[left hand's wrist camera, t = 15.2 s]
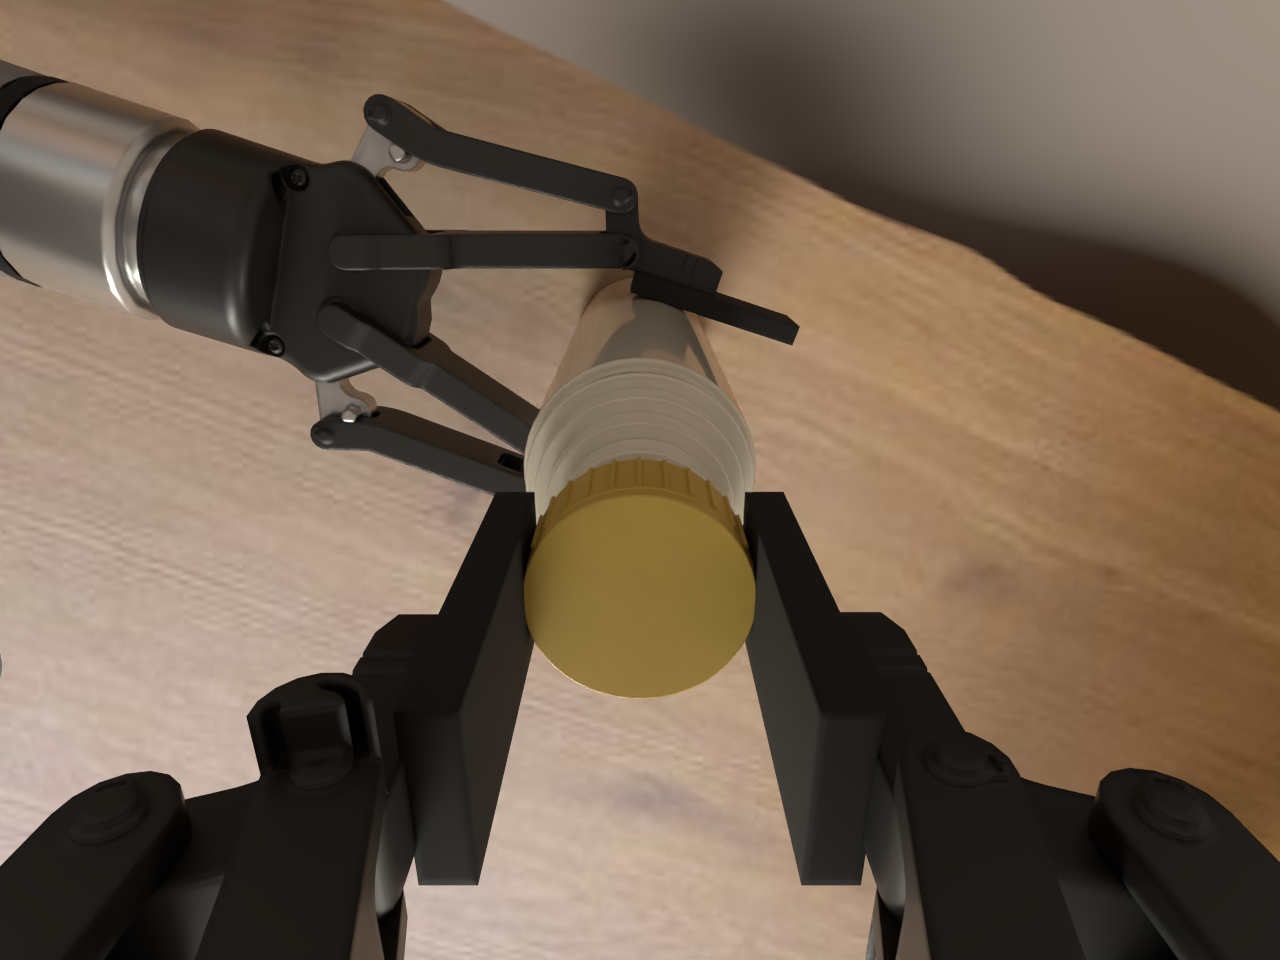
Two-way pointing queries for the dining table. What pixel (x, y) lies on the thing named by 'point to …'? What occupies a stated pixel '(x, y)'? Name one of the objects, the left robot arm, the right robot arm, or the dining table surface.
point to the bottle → (639, 401)
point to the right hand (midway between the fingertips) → (757, 407)
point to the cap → (639, 580)
